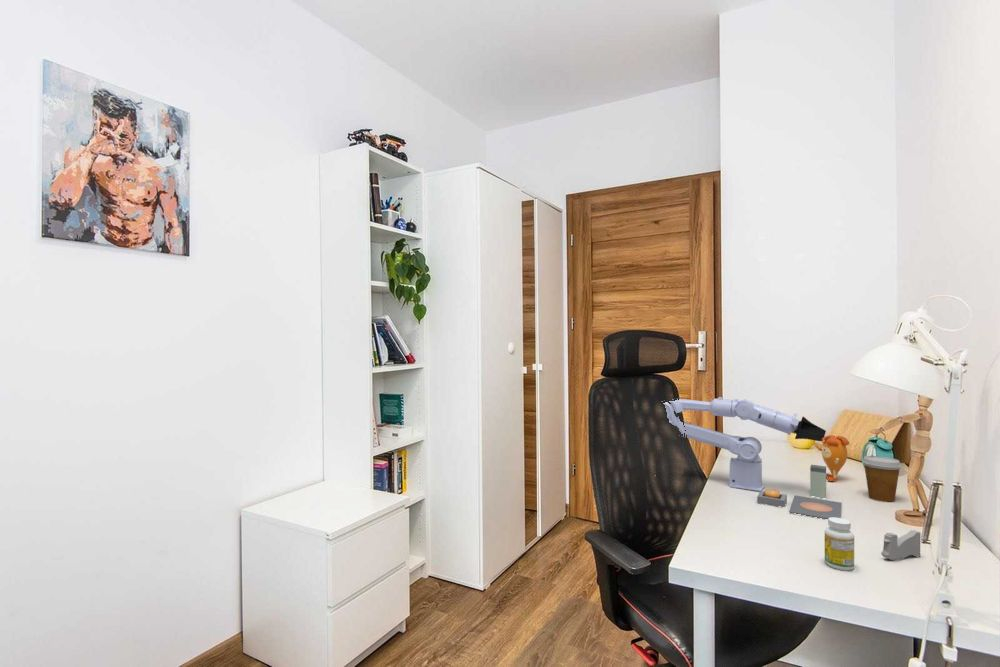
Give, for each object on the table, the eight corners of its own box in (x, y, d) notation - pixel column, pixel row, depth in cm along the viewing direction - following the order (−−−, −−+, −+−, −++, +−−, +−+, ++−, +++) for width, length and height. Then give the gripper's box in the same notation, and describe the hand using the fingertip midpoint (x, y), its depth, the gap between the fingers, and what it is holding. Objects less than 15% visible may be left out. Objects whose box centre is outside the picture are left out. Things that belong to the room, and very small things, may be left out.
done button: (763, 498, 150) (763, 491, 150) (765, 494, 154) (765, 488, 154) (779, 500, 148) (779, 493, 148) (780, 497, 151) (780, 490, 152)
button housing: (757, 503, 150) (757, 496, 150) (760, 497, 156) (760, 490, 156) (784, 507, 146) (784, 500, 146) (786, 501, 152) (786, 494, 152)
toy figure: (818, 474, 182) (818, 432, 182) (844, 477, 179) (844, 434, 179) (825, 483, 171) (825, 438, 171) (854, 486, 168) (853, 440, 168)
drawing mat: (788, 513, 142) (788, 511, 142) (794, 496, 156) (794, 494, 156) (840, 522, 135) (840, 520, 135) (841, 503, 150) (841, 502, 150)
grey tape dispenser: (920, 557, 114) (886, 562, 111) (913, 555, 115) (879, 559, 112) (920, 531, 114) (886, 535, 111) (914, 529, 115) (880, 533, 112)
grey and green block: (810, 496, 157) (810, 467, 157) (811, 493, 160) (811, 464, 160) (825, 498, 154) (825, 469, 154) (826, 495, 158) (826, 466, 158)
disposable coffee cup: (896, 496, 157) (896, 457, 157) (905, 505, 148) (905, 464, 148) (859, 492, 161) (859, 454, 161) (866, 501, 152) (866, 460, 152)
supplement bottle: (852, 573, 105) (852, 527, 105) (822, 565, 109) (822, 520, 109) (855, 564, 109) (855, 519, 110) (826, 557, 113) (826, 514, 113)
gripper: (779, 403, 157) (830, 419, 150) (778, 412, 169) (825, 428, 162) (772, 424, 156) (822, 442, 149) (771, 432, 168) (818, 448, 161)
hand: (823, 436), depth 155 cm, fingers open, 7 cm apart
